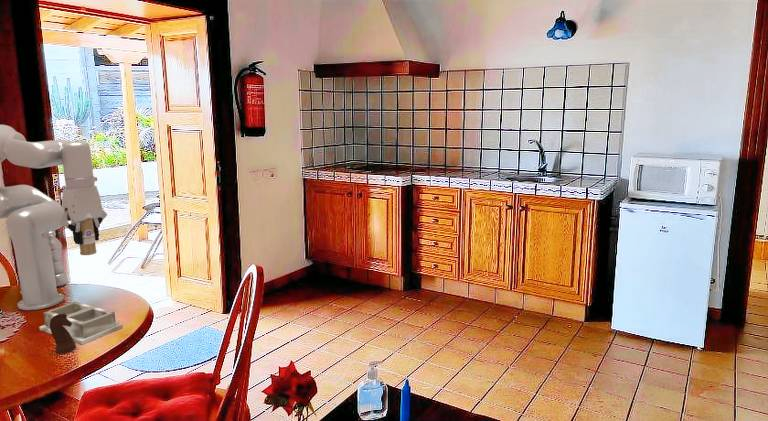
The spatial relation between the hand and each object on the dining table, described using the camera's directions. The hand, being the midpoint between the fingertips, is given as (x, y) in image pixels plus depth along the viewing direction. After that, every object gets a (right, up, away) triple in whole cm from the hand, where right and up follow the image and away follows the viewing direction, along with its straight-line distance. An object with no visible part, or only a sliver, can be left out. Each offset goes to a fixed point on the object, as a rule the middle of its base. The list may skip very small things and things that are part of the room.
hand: (87, 241), depth 165 cm
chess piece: (+7, -27, -24) cm, 37 cm away
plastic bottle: (-24, -17, +25) cm, 39 cm away
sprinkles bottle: (0, -4, +1) cm, 4 cm away
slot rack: (+4, -24, -11) cm, 27 cm away
